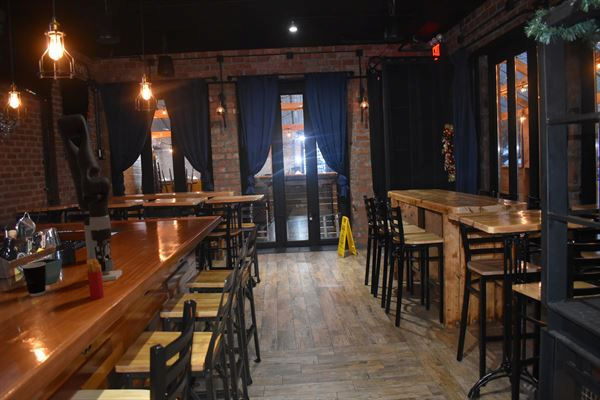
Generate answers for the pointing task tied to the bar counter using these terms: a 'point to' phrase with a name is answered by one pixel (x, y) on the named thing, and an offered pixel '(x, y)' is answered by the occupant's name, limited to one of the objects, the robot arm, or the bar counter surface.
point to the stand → (111, 275)
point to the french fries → (95, 279)
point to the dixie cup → (35, 278)
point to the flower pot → (51, 269)
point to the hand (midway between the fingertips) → (105, 269)
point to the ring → (109, 264)
